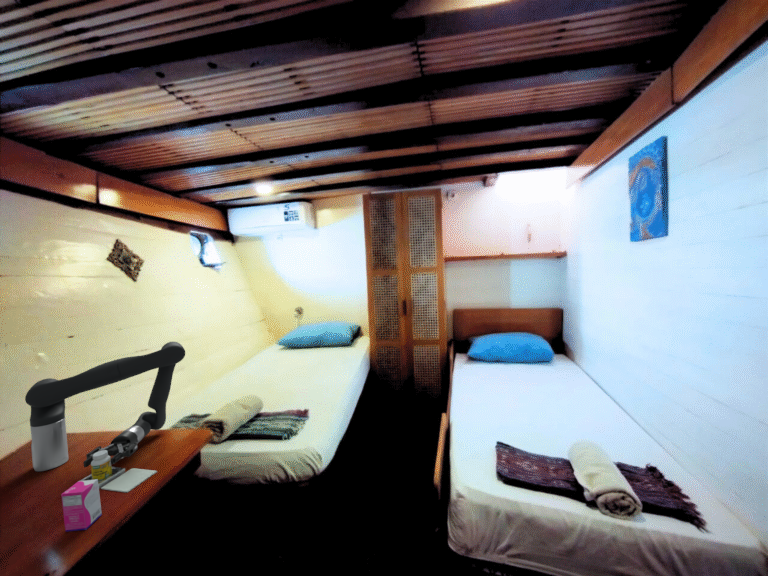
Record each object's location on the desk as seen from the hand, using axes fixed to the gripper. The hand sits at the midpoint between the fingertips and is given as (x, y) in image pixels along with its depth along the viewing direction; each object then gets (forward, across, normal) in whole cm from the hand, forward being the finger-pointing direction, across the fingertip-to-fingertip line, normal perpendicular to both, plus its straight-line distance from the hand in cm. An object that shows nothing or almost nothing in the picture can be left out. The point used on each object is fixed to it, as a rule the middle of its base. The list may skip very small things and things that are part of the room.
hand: (98, 463), depth 111 cm
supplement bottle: (-1, 0, +7) cm, 7 cm away
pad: (+2, +11, +6) cm, 13 cm away
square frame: (-1, 0, +6) cm, 7 cm away
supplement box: (+21, +10, +7) cm, 24 cm away
